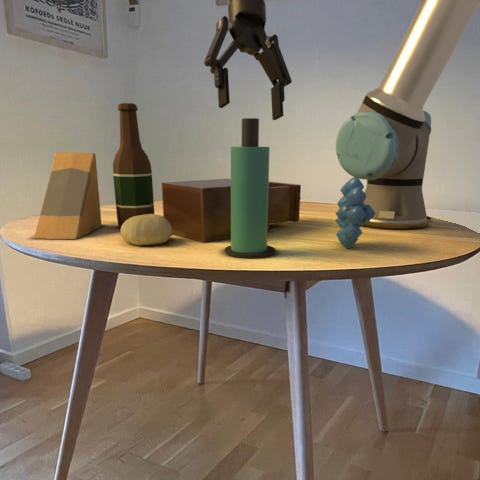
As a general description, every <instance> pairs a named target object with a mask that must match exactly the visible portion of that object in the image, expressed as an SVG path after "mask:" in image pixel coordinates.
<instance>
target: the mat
mask: <svg viewBox="0 0 480 480" xmlns="http://www.w3.org/2000/svg"><path fill="white" fill-rule="evenodd" d="M224 253H225V254H226V255H227V256H230V257H234V258H238V259H239V258H240V259H263V258H268V257H271V256H274V255H275V254H276V248H275V247H274V246H272V245H268V244H267V250H266V251H264V252H261V253H238V252H234V251H232V250H231V245H228V246H226V247H225V248H224Z"/></svg>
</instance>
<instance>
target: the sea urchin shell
mask: <svg viewBox="0 0 480 480" xmlns="http://www.w3.org/2000/svg"><path fill="white" fill-rule="evenodd" d="M119 231H120V237H121V238H122V239H123V241H125V242H126V243H128V244H131V245H135V246H155V245H161V244H165V243H167V242H168V241H169V240H170V239H171V237H172V235H173V234H172V227H171V224H170V223H169V222H168V220H166V219H165V218H164V216H163V215H160V214H155V213H154V214H146V215H138V216H134V217H131V218H129V219H128V220H126V221H125V222H124V223H123V225H122V226H121V228H120V230H119Z"/></svg>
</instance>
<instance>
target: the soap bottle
mask: <svg viewBox="0 0 480 480" xmlns="http://www.w3.org/2000/svg"><path fill="white" fill-rule="evenodd" d="M259 129H260V118H255V117H251V118H250V117H248V118H247V117H244V118H241V146H230V179H231V238H230V246H231V250H232V251H234V252H238V253H261V252H264V251H266V250H267V245H268V232H267V227H268V189H269V182H270V181H269V180H270V146H259V145H260V144H259V141H260V139H259V137H260V130H259Z"/></svg>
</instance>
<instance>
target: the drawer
mask: <svg viewBox="0 0 480 480" xmlns="http://www.w3.org/2000/svg"><path fill="white" fill-rule="evenodd" d="M269 183H270V222H269V225H273V224H279V223H288V222H291V223H299V222H300V209H301V199H302V198H301V189H302V184H297V183H287V182H278V181H269Z"/></svg>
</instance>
